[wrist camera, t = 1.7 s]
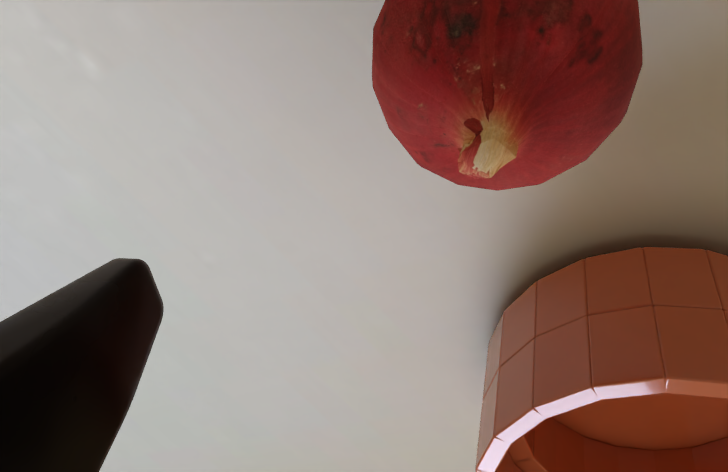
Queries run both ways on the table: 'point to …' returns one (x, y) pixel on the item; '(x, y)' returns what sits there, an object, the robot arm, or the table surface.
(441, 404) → the table surface
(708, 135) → the table surface
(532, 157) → the onion
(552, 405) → the bowl
